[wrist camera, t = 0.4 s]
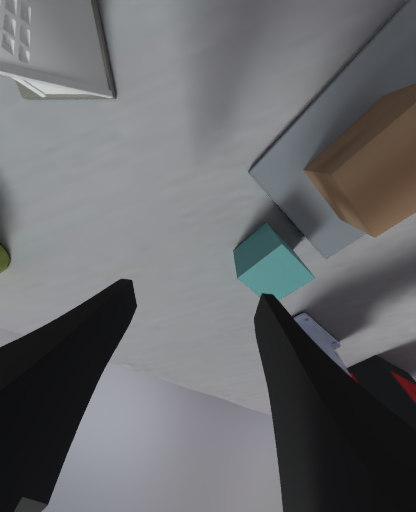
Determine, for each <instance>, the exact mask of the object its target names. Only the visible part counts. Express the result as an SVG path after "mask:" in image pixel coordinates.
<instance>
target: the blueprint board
mask: <svg viewBox="0 0 416 512" xmlns="http://www.w3.org/2000/svg"><path fill="white" fill-rule="evenodd" d="M415 83H416V0H408V1H407V2H406V3H405V4H404V5H403V6H402V7H401V8H400V9H399V10H398V12H397V13H396V14H395V15H394V16H393V17H392V18H391V19H390V20H389V21H388V22H387V23H386V24H385V25H384V27H383V28H382V29H381V30H380V31H379V32H378V33H377V34H376V35H375V36H374V37H373V38H372V39H371V40H370V42H369V43H368V44H367V45H366V46H365V47H364V48H363V49H362V50H361V51H360V52H359V53H358V54H357V56H356V57H355V58H354V59H353V60H352V61H351V62H350V63H349V64H348V65H347V66H346V67H345V68H344V69H343V71H342V72H341V73H340V74H339V75H338V76H337V77H336V78H335V79H334V80H333V81H332V82H331V83H330V84H329V86H328V87H327V88H326V89H325V90H324V91H323V92H322V93H321V94H320V95H319V96H318V97H317V98H316V99H315V101H314V102H313V103H312V104H311V105H310V106H309V107H308V108H307V109H306V110H305V111H304V112H303V113H302V115H301V116H300V117H299V118H298V119H297V120H296V121H295V122H294V123H293V124H292V125H291V126H290V127H289V128H288V130H287V131H286V132H285V133H284V134H283V135H282V136H281V137H280V138H279V139H278V140H277V141H276V142H275V143H274V145H273V146H272V147H271V148H270V149H269V150H268V151H267V152H266V153H265V154H264V155H263V156H262V157H261V158H260V160H259V161H258V162H257V163H256V164H255V165H254V166H253V167H252V168H251V169H250V170H249V171H248V173H249V174H250V175H251V176H252V177H253V178H254V179H255V180H256V182H257V183H258V184H259V185H260V186H261V187H262V188H263V189H264V191H265V192H266V193H267V194H268V195H269V196H270V197H271V198H272V200H273V201H274V202H275V203H276V204H277V205H278V206H279V207H280V209H281V210H282V211H283V212H284V213H285V214H286V215H287V216H288V218H289V219H290V220H291V221H292V222H293V223H294V224H295V225H296V227H297V228H298V229H299V230H300V231H301V232H302V233H303V234H304V236H305V237H306V238H307V239H308V240H309V241H310V242H311V243H312V245H313V246H314V247H315V248H316V249H317V250H318V251H319V252H320V254H321V255H322V256H323V257H324V258H325V259H327V258H329V257H330V256H332V255H334V254H335V253H337V252H338V251H340V250H341V249H343V248H345V247H346V246H348V245H349V244H351V243H352V242H354V241H355V240H357V239H359V238H360V237H362V236H363V235H365V234H366V233H365V232H363V231H361V230H359V229H357V228H355V227H353V226H352V225H350V224H348V223H346V222H344V221H342V220H340V219H339V217H338V216H337V215H336V213H335V212H334V211H333V209H332V208H331V207H330V206H329V204H328V203H327V202H326V200H325V199H324V198H323V196H322V195H321V194H320V192H319V191H318V190H317V188H316V187H315V186H314V184H313V183H312V182H311V180H310V179H309V178H308V176H307V175H306V174H305V172H304V171H303V169H304V168H306V167H307V166H308V165H309V164H310V163H311V162H312V161H313V160H314V159H315V158H316V157H317V156H319V155H320V154H321V153H322V152H323V151H324V150H325V149H326V148H327V147H328V146H329V145H331V144H332V143H333V142H334V141H335V140H336V139H337V138H338V137H339V136H340V135H341V134H342V133H344V132H345V131H346V130H347V129H348V128H349V127H350V126H351V125H352V124H353V123H354V122H356V121H357V120H358V119H359V118H360V117H361V116H362V115H363V114H364V113H365V112H366V111H367V110H369V109H370V108H371V107H372V106H373V105H374V104H375V103H376V102H377V101H378V100H379V99H381V98H382V97H383V96H384V95H386V94H388V93H391V92H394V91H396V90H399V89H402V88H404V87H407V86H410V85H412V84H415Z"/></svg>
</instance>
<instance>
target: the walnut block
mask: <svg viewBox="0 0 416 512" xmlns="http://www.w3.org/2000/svg"><path fill="white" fill-rule="evenodd" d="M303 171H304V172H305V174H306V175H307V176H308V178H309V179H310V180H311V182H312V183H313V184H314V186H315V187H316V188H317V190H318V191H319V192H320V194H321V195H322V196H323V198H324V199H325V200H326V202H327V203H328V204H329V206H330V207H331V208H332V209H333V211H334V212H335V213H336V215H337V216H338V217H339V219H340V220H342V221H344V222H346V223H348V224H350V225H352V226H353V227H355V228H357V229H359V230H361V231H363V232H365V233H367V234H369V235H371V236H373V237H377V236H378V235H380V234H381V233H383V232H385V231H386V230H388V229H390V228H391V227H393V226H394V225H396V224H398V223H399V222H401V221H402V220H404V219H406V218H407V217H409V216H411V215H412V214H414V213H415V212H416V83H415V84H412V85H410V86H407V87H404V88H402V89H399V90H396V91H394V92H391V93H388V94H386V95H384V96H383V97H382V98H381V99H379V100H378V101H377V102H376V103H375V104H374V105H373V106H372V107H371V108H370V109H369V110H367V111H366V112H365V113H364V114H363V115H362V116H361V117H360V118H359V119H358V120H357V121H356V122H354V123H353V124H352V125H351V126H350V127H349V128H348V129H347V130H346V131H345V132H344V133H342V134H341V135H340V136H339V137H338V138H337V139H336V140H335V141H334V142H333V143H332V144H331V145H329V146H328V147H327V148H326V149H325V150H324V151H323V152H322V153H321V154H320V155H319V156H317V157H316V158H315V159H314V160H313V161H312V162H311V163H310V164H309V165H308V166H307V167H306V168H304V169H303Z"/></svg>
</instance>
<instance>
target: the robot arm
mask: <svg viewBox="0 0 416 512" xmlns="http://www.w3.org/2000/svg"><path fill="white" fill-rule="evenodd" d="M136 308H137V304H136V298H135V293H134V288H133V282H132V280H128V279H120V280H118V281H117V282H115V283H113V284H112V285H110V286H109V287H107V288H106V289H104V290H103V291H101V292H100V293H98V294H96V295H95V296H93V297H92V298H90V299H89V300H87V301H85V302H84V303H82V304H81V305H79V306H77V307H76V308H74V309H72V310H71V311H69V312H67V313H65V314H64V315H62V316H60V317H59V318H57V319H55V320H53V321H52V322H50V323H48V324H46V325H44V326H42V327H41V328H39V329H37V330H35V331H33V332H31V333H29V334H27V335H25V336H23V337H21V338H19V339H17V340H15V341H13V342H11V343H8V344H6V345H4V346H2V347H0V512H41V511H42V510H43V509H44V508H45V507H46V506H47V505H48V503H49V500H50V498H51V495H52V492H53V490H54V487H55V484H56V482H57V479H58V477H59V474H60V471H61V469H62V466H63V463H64V461H65V458H66V455H67V453H68V451H69V448H70V446H71V443H72V441H73V438H74V436H75V434H76V431H77V429H78V426H79V424H80V421H81V419H82V416H83V414H84V412H85V410H86V408H87V405H88V403H89V401H90V398H91V396H92V394H93V392H94V390H95V387H96V385H97V383H98V381H99V379H100V377H101V374H102V373H103V371H104V369H105V367H106V365H107V363H108V361H109V360H110V358H111V356H112V354H113V353H114V351H115V349H116V347H117V346H118V344H119V342H120V340H121V339H122V337H123V335H124V333H125V331H126V330H127V328H128V326H129V324H130V322H131V320H132V317H133V315H134V313H135V310H136ZM254 324H255V333H256V339H257V344H258V348H259V352H260V356H261V361H262V365H263V369H264V373H265V378H266V382H267V387H268V392H269V398H270V405H271V411H272V418H273V425H274V433H275V440H276V448H277V457H278V465H279V474H280V483H281V493H282V504H283V512H416V430H415V429H414V428H412V427H411V426H410V425H409V424H407V423H406V422H405V421H403V420H402V419H401V418H400V417H398V416H397V415H396V414H395V413H393V412H392V411H391V410H390V409H388V408H387V407H386V406H385V405H383V404H382V403H381V402H380V401H379V400H377V399H376V398H375V397H374V396H373V395H372V394H370V393H369V392H368V391H367V390H366V389H364V388H363V387H362V386H361V385H360V384H359V383H357V382H356V381H355V380H354V379H353V378H352V377H351V375H350V373H349V372H348V370H347V368H346V367H345V365H344V363H343V362H342V360H341V358H340V357H339V355H338V353H337V352H336V350H335V349H336V348H339V347H340V346H341V345H340V343H339V342H338V341H337V340H336V339H334V338H333V337H332V336H331V335H330V334H329V333H328V332H327V331H325V330H324V329H323V328H322V327H321V326H320V325H319V324H317V323H316V322H315V321H314V320H313V319H312V318H311V317H310V316H308V315H307V314H306V313H302V314H300V315H298V316H296V317H294V318H293V317H292V316H291V315H290V314H289V313H288V311H287V310H286V309H285V308H284V307H283V305H282V304H281V303H280V302H279V301H278V299H277V298H276V297H275V296H274V295H273V294H266V293H262V294H261V297H260V301H259V304H258V307H257V310H256V313H255V317H254Z"/></svg>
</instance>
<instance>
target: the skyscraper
mask: <svg viewBox="0 0 416 512" xmlns="http://www.w3.org/2000/svg"><path fill="white" fill-rule="evenodd" d="M0 74H1V75H5V76H9V77H12V78H13V79H15V81H16V83H17V86H18V88H19V90H20V93H21V95H22V98H25V99H116V95H115V90H114V85H113V80H112V75H111V70H110V65H109V60H108V55H107V50H106V45H105V40H104V35H103V30H102V25H101V20H100V15H99V10H98V5H97V0H0Z"/></svg>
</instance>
